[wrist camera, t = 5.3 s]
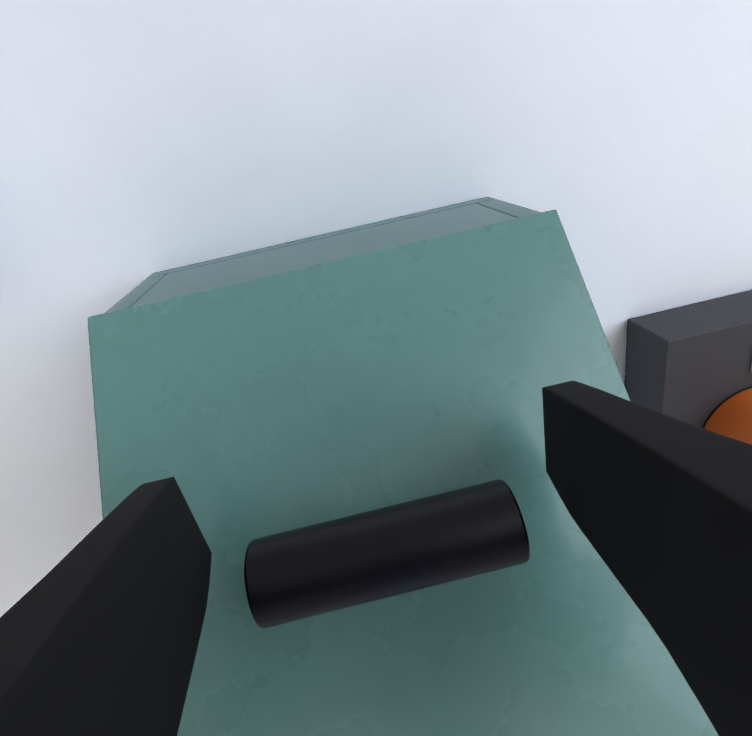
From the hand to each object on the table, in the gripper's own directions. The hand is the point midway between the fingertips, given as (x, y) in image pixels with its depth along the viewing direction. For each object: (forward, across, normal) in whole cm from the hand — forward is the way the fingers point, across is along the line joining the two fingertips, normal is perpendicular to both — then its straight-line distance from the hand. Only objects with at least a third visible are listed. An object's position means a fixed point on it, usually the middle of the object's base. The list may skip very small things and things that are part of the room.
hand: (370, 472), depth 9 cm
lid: (+1, 0, +2) cm, 2 cm away
